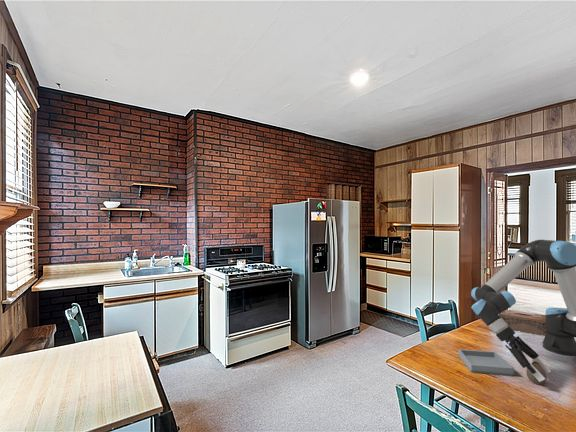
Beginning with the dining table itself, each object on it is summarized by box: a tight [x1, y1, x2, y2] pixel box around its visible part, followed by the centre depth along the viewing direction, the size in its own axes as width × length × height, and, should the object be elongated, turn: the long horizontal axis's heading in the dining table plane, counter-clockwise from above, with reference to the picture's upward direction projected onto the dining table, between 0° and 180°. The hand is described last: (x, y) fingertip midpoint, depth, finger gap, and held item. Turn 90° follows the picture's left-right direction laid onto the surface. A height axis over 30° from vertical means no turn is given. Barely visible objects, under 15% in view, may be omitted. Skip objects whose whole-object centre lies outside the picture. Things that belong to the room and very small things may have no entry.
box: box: [457, 348, 515, 377], centre depth 148 cm, size 18×18×4 cm
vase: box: [526, 361, 547, 385], centre depth 132 cm, size 7×7×9 cm
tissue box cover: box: [499, 309, 546, 337], centre depth 196 cm, size 26×14×10 cm, turn 52°
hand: (545, 376), depth 130 cm, fingers open, 9 cm apart
